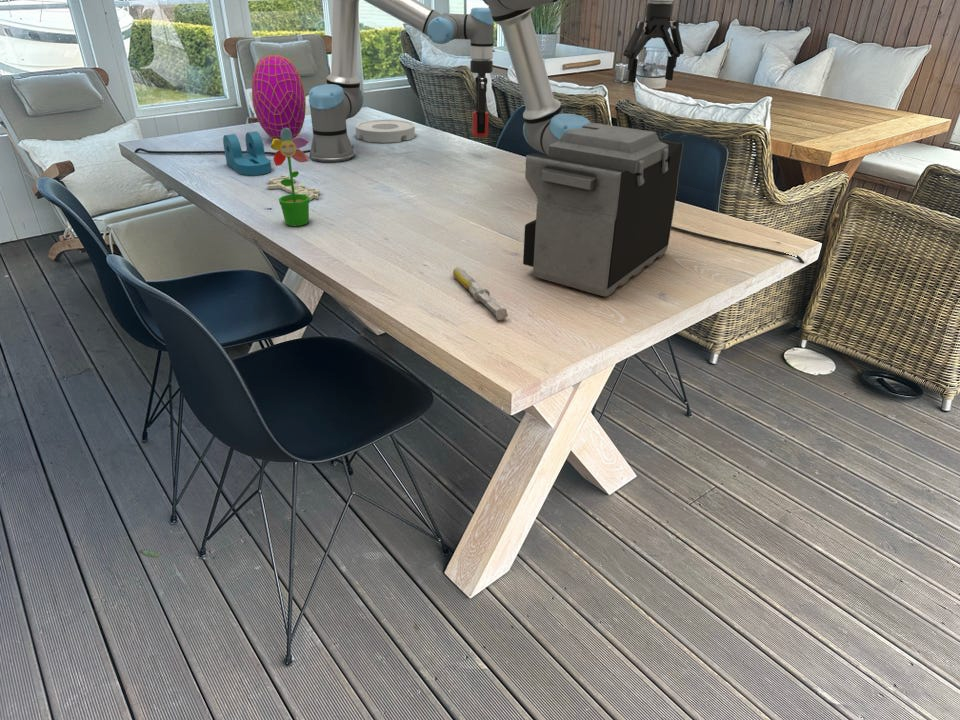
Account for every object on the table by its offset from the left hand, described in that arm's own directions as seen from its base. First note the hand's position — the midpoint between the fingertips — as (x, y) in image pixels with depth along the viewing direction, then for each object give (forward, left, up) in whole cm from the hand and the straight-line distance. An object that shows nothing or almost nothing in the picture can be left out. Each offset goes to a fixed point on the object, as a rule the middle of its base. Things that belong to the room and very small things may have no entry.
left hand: (480, 130), depth 241 cm
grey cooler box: (+35, -96, -9) cm, 103 cm away
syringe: (+9, -117, -9) cm, 117 cm away
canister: (0, 0, -2) cm, 2 cm away
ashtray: (-40, +28, -9) cm, 50 cm away
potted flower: (-43, -76, -9) cm, 87 cm away
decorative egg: (-77, +16, -9) cm, 79 cm away
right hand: (+54, -21, +21) cm, 61 cm away
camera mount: (-75, -25, -9) cm, 79 cm away
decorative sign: (-54, -47, -9) cm, 72 cm away
